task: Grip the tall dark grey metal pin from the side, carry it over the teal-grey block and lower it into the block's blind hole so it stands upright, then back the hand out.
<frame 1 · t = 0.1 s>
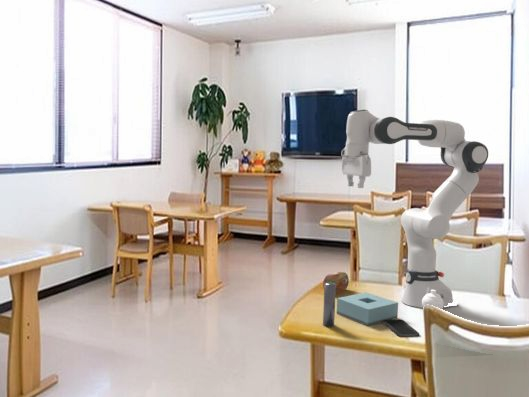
hand: (355, 187, 196), 48 cm above the table, tool pointing down, fingers open, 8 cm apart
pin: (328, 325, 178), on the table
hole block: (366, 315, 189), on the table
phone: (400, 330, 176), on the table
spinning top: (431, 322, 184), on the table
tin: (335, 292, 222), on the table
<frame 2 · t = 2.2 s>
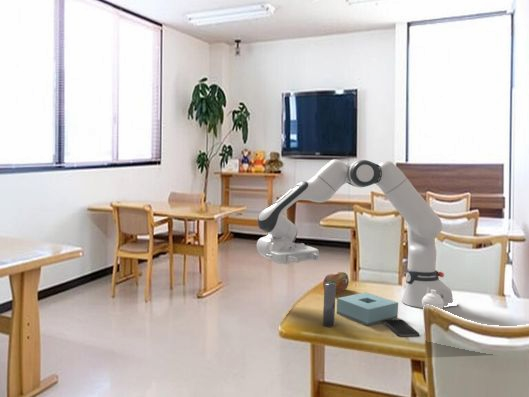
hand: (308, 259, 186), 22 cm above the table, tool horizontal, fingers open, 8 cm apart
nothing on the table moved.
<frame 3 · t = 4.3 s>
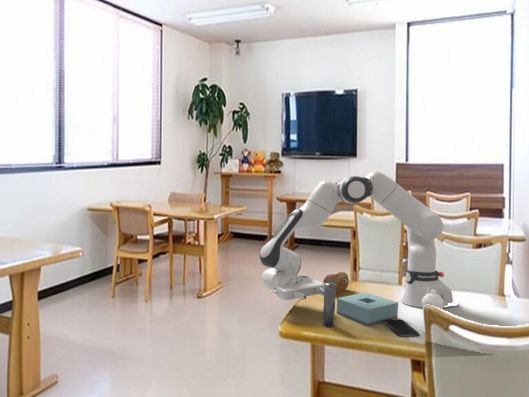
hand: (314, 295, 184), 9 cm above the table, tool horizontal, fingers open, 8 cm apart
nothing on the table moved.
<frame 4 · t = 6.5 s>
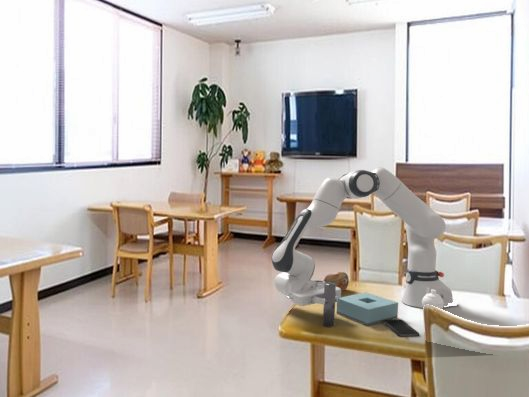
hand: (331, 300, 177), 9 cm above the table, tool horizontal, fingers closed on pin, 4 cm apart
pin: (328, 325, 178), on the table, touching gripper
everything else where it was.
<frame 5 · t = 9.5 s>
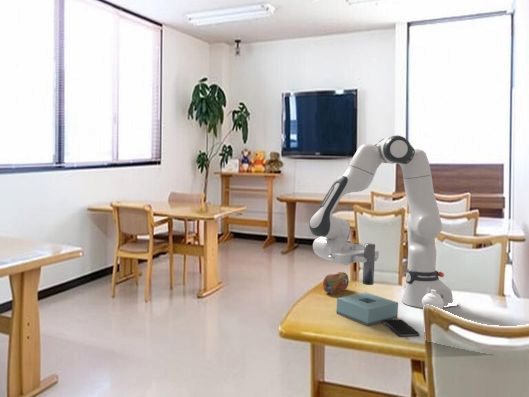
hand: (371, 259, 187), 22 cm above the table, tool horizontal, fingers closed on pin, 4 cm apart
pin: (368, 283, 188), point 12 cm above the table, touching gripper
everything else where it was.
when the fingers open (11 cm above the table, at t = 12.3 s): pin stays where it is, resting on hole block.
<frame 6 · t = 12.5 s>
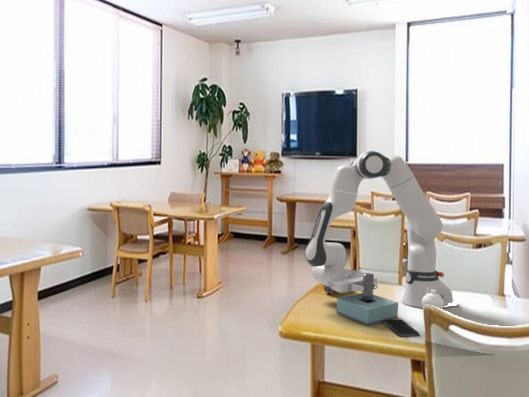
hand: (369, 288, 188), 11 cm above the table, tool horizontal, fingers open, 6 cm apart
pin: (366, 313, 189), point 1 cm above the table, touching hole block
everything else where it was.
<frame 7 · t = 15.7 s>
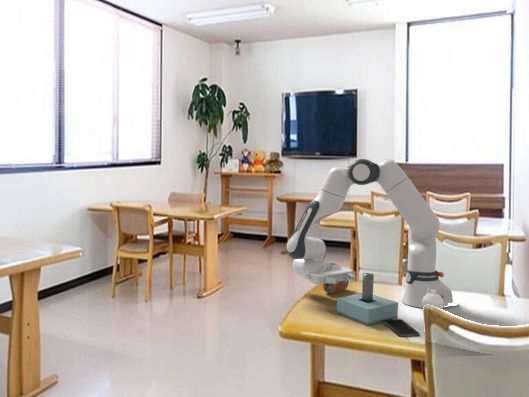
hand: (345, 280, 198), 11 cm above the table, tool horizontal, fingers open, 8 cm apart
nothing on the table moved.
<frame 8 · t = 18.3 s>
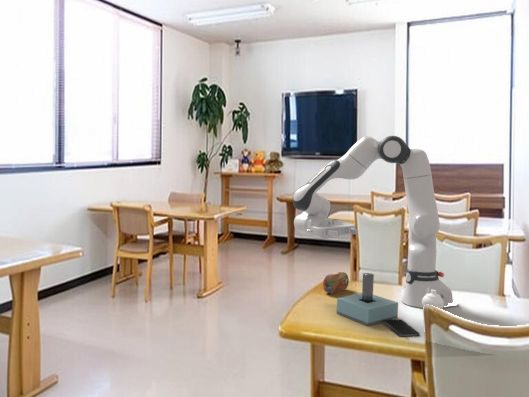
hand: (347, 232, 196), 30 cm above the table, tool horizontal, fingers open, 8 cm apart
nothing on the table moved.
at the end: pin 0.1 cm off-centre on the hole block, point 1.0 cm above the hole block's base; pin tilted 0°; the gripper is holding nothing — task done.
